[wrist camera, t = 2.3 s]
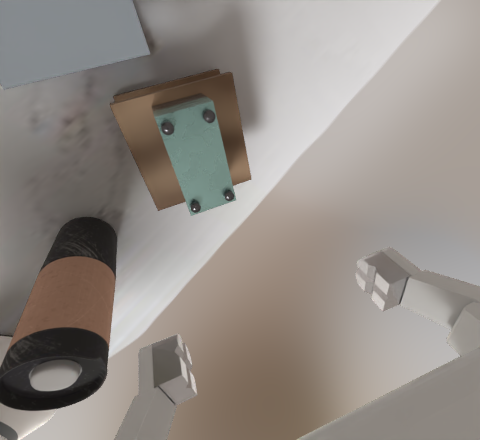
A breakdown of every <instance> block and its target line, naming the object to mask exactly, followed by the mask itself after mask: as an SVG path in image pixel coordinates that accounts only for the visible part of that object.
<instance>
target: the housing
mask: <svg viewBox="0 0 480 440" xmlns="http://www.w3.org/2000/svg"><path fill="white" fill-rule="evenodd" d="M151 107H152V110H153V114H154V117H155V120H156V123H157V126H158V128H159V131H160V134H161V136H162V139H163V142H164V144H165V147H166V150H167V152H168V155H169V158H170V160H171V163H172V166H173V168H174V171H175V174H176V176H177V179H178V182H179V184H180V187H181V190H182V192H183V195H184V198H185V201H186V203H187V206H188V209H189V211H190V214H191V216H192V215H195V214H198V213H200V212H203V211H206V210H209V209H212V208H215V207H218V206H221V205H224V204H226V203H229V202H232V201H235V200H236V197H235V193H234V189H233V184H232V180H231V176H230V171H229V167H228V163H227V159H226V154H225V150H224V146H223V141H222V137H221V133H220V129H219V124H218V120H217V116H216V111H215V107H214V103H213V101H212V100H211V99H209V98H208V97H206V96H205V95H203V94H202V93H199V94H195V95H191V96H188V97H184V98H180V99H177V100H173V101H169V102H166V103H162V104H158V105H155V106H151Z"/></svg>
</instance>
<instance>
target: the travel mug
mask: <svg viewBox="0 0 480 440" xmlns="http://www.w3.org/2000/svg"><path fill="white" fill-rule="evenodd" d="M116 254H117V237H116V233H115V231H114V230H113V228H112V227H111V226H110V225H109V224H107V223H106V222H104V221H102V220H100V219H96V218H91V217H82V218H77V219H74V220H71V221H69V222H68V223H66V224H65V225H64V226H63V227H62V228H61V230H60V232H59V233H58V235H57V237H56V239H55V241H54V243H53V245H52V248H51V250H50V252H49V254H48V256H47V258H46V260H45V262H44V264H43V266H42V268H41V270H40V272H39V275H38V277H37V279H36V281H35V284H34V286H33V289H32V291H31V294H30V296H29V299H28V301H27V303H26V306H25V308H24V311H23V313H22V316H21V318H20V321H19V323H18V325H17V328H16V330H15V333H14V335H13V338H12V340H11V343H10V345H9V347H8V350H7V352H6V355H5V357H4V360H3V362H2V364H1V367H0V403H1V404H3V405H5V406H7V407H9V408H13V409H17V410H24V411H45V410H53V409H58V408H62V407H66V406H69V405H72V404H75V403H77V402H79V401H82V400H84V399H86V398H88V397H89V396H91V395H92V394H94V393H95V392H96V391H97V390H98V389H99V388H100V387H101V386H102V384H103V383H104V381H105V379H106V376H107V362H108V352H109V342H110V332H111V322H112V312H113V302H114V292H115V280H116Z"/></svg>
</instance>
